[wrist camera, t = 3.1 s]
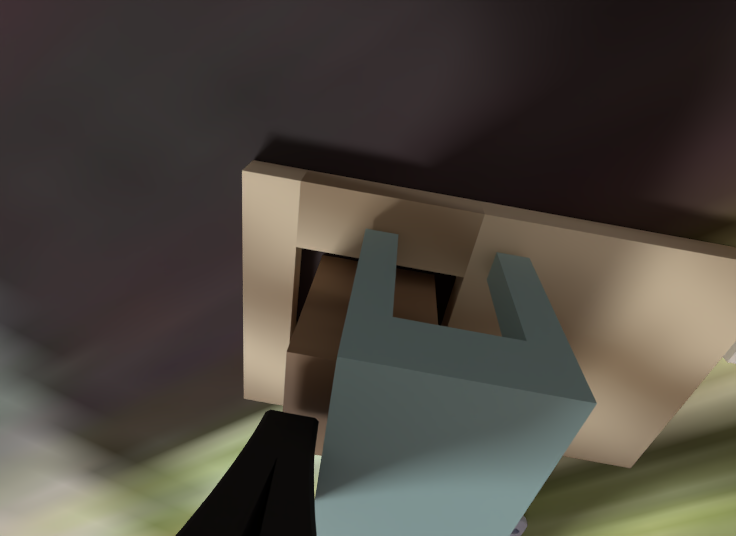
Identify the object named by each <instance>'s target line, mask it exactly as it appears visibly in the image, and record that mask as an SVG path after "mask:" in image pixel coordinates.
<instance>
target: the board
mask: <svg viewBox="0 0 736 536" xmlns="http://www.w3.org/2000/svg"><path fill="white" fill-rule="evenodd" d="M242 219H243V338H244V399H249V400H255V401H261V402H266V403H272V404H277V405H283V400H284V384H285V368H286V352H287V349H288V347H289V344H290V341H291V338H292V336H293V333H294V330H295V328H296V317H297V304H298V291H299V279H300V266H301V253H302V248H304V249H310V250H315V251H321V252H327V253H332V254H338V255H343V256H349V257H354V258H359V256H360V252H361V247H362V243H363V238H364V234H365V229H371V230H377V231H382V232H388V233H393V234H398V248H397V262H396V265H399V266H404V267H410V268H415V269H421V270H426V271H432V272H437V273H443V274H448V275H454V276H456V279H455V282H454V285H453V289H452V292H451V295H450V298H449V301H448V304H447V307H446V311H445V314H444V317H443V320H442V323H441V326H446V327H451V328H457V329H462V330H468V331H473V332H479V333H484V334H490V335H495V336H501V337H502V334H501V331H500V327H499V323H498V320H497V316H496V312H495V308H494V305H493V301H492V297H491V294H490V290H489V286H488V282H487V277H488V275H489V272H490V269H491V266H492V264H493V261H494V258H495V255H496V253H497V252H499V253H504V254H510V255H515V256H521V257H526V258H530V260H531V262H532V265H533V267H534V269H535V271H536V273H537V275H538V278H539V280H540V282H541V284H542V286H543V288H544V290H545V293H546V295H547V297H548V299H549V301H550V303H551V305H552V308H553V310H554V312H555V314H556V316H557V318H558V321H559V323H560V325H561V327H562V329H563V331H564V333H565V336H566V338H567V340H568V342H569V344H570V346H571V349H572V351H573V353H574V355H575V357H576V359H577V361H578V364H579V366H580V368H581V370H582V372H583V374H584V377H585V379H586V381H587V383H588V385H589V387H590V389H591V392H592V394H593V396H594V398H595V400H596V402H597V404H596V406H595V407H594V409H593V410H592V412H591V413H590V415H589V417H588V418H587V420H586V421H585V423H584V424H583V426H582V427H581V429H580V430H579V432H578V433H577V435H576V436H575V438H574V439H573V441H572V442H571V444H570V445H569V447H568V448H567V450H566V451H565V453H564V454H563V456H565V457H571V458H576V459H582V460H588V461H593V462H599V463H604V464H610V465H615V466H621V467H626V468H631V467H632V466H633V465H634V463H635V462H636V461H637V460H638V459H639V457H640V456H641V455H642V454H643V453H644V451H645V450H646V449H647V448H648V447H649V445H650V444H651V443H652V442H653V441H654V439H655V438H656V437H657V436H658V434H659V433H660V432H661V431H662V430H663V428H664V427H665V426H666V425H667V424H668V422H669V421H670V420H671V419H672V418H673V416H674V415H675V414H676V413H677V412H678V410H679V409H680V408H681V407H682V405H683V404H684V403H685V402H686V401H687V399H688V398H689V397H690V396H691V395H692V393H693V392H694V391H695V390H696V389H697V387H698V386H699V385H700V384H701V383H702V381H703V380H704V379H705V378H706V376H707V375H708V374H709V373H710V372H711V370H712V369H713V368H714V367H715V366H716V364H717V363H718V362H719V361H720V360H721V358H722V357H723V356H724V355H725V354H726V352H727V351H728V350H729V349H730V347H731V346H732V345H733V344H734V343H735V341H736V247H731V246H726V245H720V244H715V243H709V242H704V241H698V240H693V239H687V238H682V237H676V236H670V235H665V234H659V233H654V232H648V231H643V230H637V229H632V228H626V227H621V226H615V225H610V224H604V223H598V222H593V221H587V220H582V219H576V218H571V217H565V216H560V215H554V214H549V213H543V212H538V211H532V210H526V209H521V208H515V207H510V206H504V205H499V204H493V203H488V202H482V201H477V200H471V199H466V198H460V197H454V196H449V195H443V194H438V193H432V192H427V191H421V190H416V189H410V188H405V187H399V186H394V185H388V184H382V183H377V182H371V181H366V180H360V179H355V178H349V177H344V176H338V175H333V174H327V173H321V172H316V171H310V170H305V169H299V168H294V167H288V166H283V165H277V164H272V163H266V162H261V161H255V160H253V161H252V162H251V163H250V164H249V165H247V166H246V167H245V168H244V169H243V170H242Z"/></svg>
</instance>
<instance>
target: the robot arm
mask: <svg viewBox="0 0 736 536" xmlns="http://www.w3.org/2000/svg"><path fill="white" fill-rule="evenodd" d="M318 425H319V421H318V420H317V419H316V418H314V417H308V416H303V415H297V414H291V413H286V412H280V411H275V410H269V411H267V412H266V413H265V414H264V416H263V418H262V420H261V422H260V423H259V425H258V427H257V428H256V430H255V431H254V433H253V435H252V436H251V438H250V439H249V441H248V442H247V444H246V445H245V447H244V448H243V450H242V451H241V453H240V454H239V455H238V457H237V458H236V460H235V461H234V463H233V464H232V465H231V467H230V468H229V469H228V471H227V472H226V473H225V475H224V476H223V477H222V479H221V480H220V481H219V483H218V484H217V485H216V487H215V488H214V489H213V491H212V492H211V493H210V495H209V496H208V497H207V498H206V500H205V501H204V502H203V503H202V504H201V506H200V507H199V508H198V509H197V510H196V512H195V513H194V514H193V515H192V517H191V518H190V519H189V520H188V521H187V523H186V524H185V525H184V526H183V528H182V529H181V530H180V531H179V532H178V533H177V534H176V536H317V532H316V519H315V499H314V455H315V447H316V440H317V432H318ZM526 528H527V521H526V518H525V517H524V516H522V518H521V519H520V521H519V522H518V524H517V525H516V527H515V528H514V530H513V531H512V533H511V534H510V536H521V535H522V534H523V532H524V531H525V529H526Z"/></svg>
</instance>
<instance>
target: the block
mask: <svg viewBox="0 0 736 536" xmlns="http://www.w3.org/2000/svg"><path fill="white" fill-rule="evenodd" d="M357 265H358V261H354V260H348V259H343V258H337V257H331V256H326V255H322V258H321V261H320V263H319V266H318V269H317V271H316V274H315V277H314V280H313V282H312V285H311V288H310V290H309V293H308V296H307V298H306V301H305V304H304V306H303V309H302V312H301V314H300V317H299V320H298V322H297V325H296V328H295V330H294V333H293V336H292V338H291V341H290V344H289V347H288V349H287V352H286V368H285V384H284V400H283V412H286V413H291V414H297V415H303V416H308V417H314V418H316V419H317V420H318V421H319V425H318V432H317V440H316V447H315V455H321V456H322V451H323V445H324V438H325V432H326V425H327V419H328V412H329V406H330V399H331V393H332V386H333V380H334V373H335V367H336V361H337V355H338V350H339V346H340V341H341V337H342V332H343V328H344V324H345V319H346V315H347V310H348V306H349V301H350V297H351V292H352V288H353V283H354V279H355V274H356V270H357ZM393 317H396V318H401V319H407V320H412V321H418V322H423V323H429V324H434V325H438V316H437V304H436V291H435V278H434V275H433V274H427V273H421V272H416V271H410V270H404V269H399V268H396V276H395V290H394V304H393Z"/></svg>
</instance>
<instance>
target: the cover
mask: <svg viewBox="0 0 736 536" xmlns="http://www.w3.org/2000/svg"><path fill="white" fill-rule="evenodd" d="M397 248H398V234H393V233H388V232H382V231H377V230H371V229H365V234H364V238H363V243H362V247H361V252H360V256H359V261H358V265H357V270H356V274H355V279H354V283H353V288H352V292H351V297H350V301H349V306H348V310H347V315H346V319H345V324H344V328H343V332H342V337H341V341H340V346H339V350H338V355H337V361H336V367H335V373H334V380H333V386H332V393H331V399H330V406H329V412H328V419H327V425H326V432H325V438H324V445H323V451H322V458H321V464H320V470H319V477H318V483H317V490H316V496H315V519H316V532H317V536H510V534H511V533H512V531H513V530H514V528H515V527H516V525H517V524H518V522H519V521H520V519H521V518H522V516H523V515H524V513H525V512H526V510H527V509H528V507H529V506H530V504H531V503H532V501H533V500H534V498H535V496H536V495H537V493H538V492H539V490H540V489H541V487H542V486H543V484H544V483H545V481H546V480H547V478H548V477H549V475H550V474H551V472H552V471H553V469H554V468H555V466H556V465H557V463H558V462H559V460H560V459H561V457H562V456H563V454H564V453H565V451H566V450H567V448H568V447H569V445H570V444H571V442H572V441H573V439H574V438H575V436H576V435H577V433H578V432H579V430H580V429H581V427H582V426H583V424H584V423H585V421H586V420H587V418H588V417H589V415H590V413H591V412H592V410H593V409H594V407H595V406H596V404H597V402H596V400H595V398H594V396H593V394H592V392H591V389H590V387H589V385H588V383H587V381H586V379H585V377H584V374H583V372H582V370H581V368H580V366H579V364H578V361H577V359H576V357H575V355H574V353H573V351H572V349H571V346H570V344H569V342H568V340H567V338H566V336H565V333H564V331H563V329H562V327H561V325H560V323H559V321H558V318H557V316H556V314H555V312H554V310H553V308H552V305H551V303H550V301H549V299H548V297H547V295H546V293H545V290H544V288H543V286H542V284H541V282H540V280H539V278H538V275H537V273H536V271H535V269H534V267H533V265H532V262H531V260H530V258H526V257H521V256H515V255H510V254H504V253H499V252H497V253H496V255H495V258H494V261H493V264H492V266H491V269H490V272H489V275H488V277H487V282H488V286H489V290H490V294H491V297H492V301H493V305H494V308H495V312H496V316H497V320H498V323H499V327H500V331H501V334H502V337H501V336H495V335H490V334H484V333H479V332H473V331H468V330H462V329H457V328H451V327H446V326H440V325H434V324H429V323H423V322H418V321H412V320H407V319H401V318H396V317H393V304H394V290H395V276H396V262H397Z"/></svg>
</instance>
